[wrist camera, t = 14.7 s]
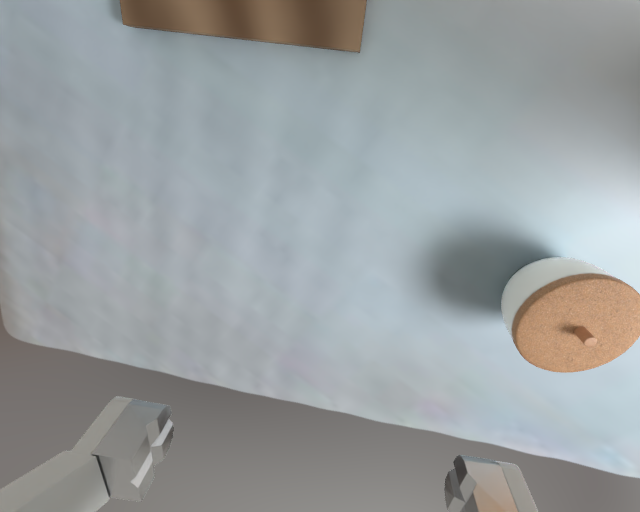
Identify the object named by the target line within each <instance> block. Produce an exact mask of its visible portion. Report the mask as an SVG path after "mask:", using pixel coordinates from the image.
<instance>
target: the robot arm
mask: <svg viewBox="0 0 640 512" xmlns="http://www.w3.org/2000/svg"><path fill="white" fill-rule="evenodd" d="M171 414H172V412H171V407H170V406H168V405H163V404H157V403H151V402H146V401H141V400H136V399H131V398H124V397H119V396H117V397H115V398H114V399H112V400H111V401H110V402H109V403H108V404H107V406H106V407H105V408H104V409H103V411H102V412H101V413H100V414H99V416H98V417H97V418H96V420H95V421H94V422H93V423H92V425H91V426H90V427H89V428H88V430H87V431H86V432H85V433H84V435H83V436H82V437H81V438H80V440H79V441H78V442H77V443H76V445H75V446H74V447H73V448H72V450H71V451H63V452H62V453H60V454H58V455H57V456H55V457H53V458H52V459H50V460H48V461H47V462H45V463H43V464H42V465H40V466H38V467H37V468H35V469H33V470H32V471H30V472H28V473H27V474H25V475H23V476H22V477H20V478H18V479H17V480H15V481H13V482H12V483H10V484H8V485H7V486H5V487H3V488H2V489H0V512H96V511H97V510H98V509H99V508H100V507H102V506H103V505H104V504H105V503H106V502H107V501H109V497H110V498H117V499H124V500H130V501H137V502H142V500H143V498H144V496H145V494H146V492H147V490H148V489H149V487H150V485H151V483H152V481H153V479H154V477H155V470H154V466H155V465H157V464H158V463H159V462H161V461H162V460H164V458H165V456H166V454H167V452H168V450H169V448H170V445H171V441H172V438H173V432H174V427H173V423H172V422H171V421H170V420H169V417H170V416H171ZM453 463H454V467H455V469H453V470H451V471H449V472H448V474H447V476H446V479H445V488H444V491H445V501H446V506H447V510H448V511H449V512H538V510H537V508H536V505H535V503H534V501H533V498H532V496H531V494H530V491H529V489H528V487H527V484H526V482H525V480H524V477H523V475H522V473H521V470H520V469H519V468H518V466H517V465H514V464H511V463H505V462H499V461H495V460H490V459H483V458H477V457H470V456H463V455H458V456H457V457H456V458H455V460H454V462H453Z"/></svg>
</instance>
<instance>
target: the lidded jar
mask: <svg viewBox="0 0 640 512" xmlns="http://www.w3.org/2000/svg"><path fill="white" fill-rule="evenodd" d="M501 311H502V315H503V319H504V323H505V325H506V328H507V330H508V332H509V333H510V335H511V337H512V339H513V342H514V344H515V346H516V348H517V349H518V351H519V353H520V354H521V355H522V356H523V358H524V359H526V360H527V361H528V362H529V363H531V364H533V365H535V366H536V367H539V368H542V369H545V370H549V371H553V372H578V371H584V370H588V369H592V368H595V367H598V366H601V365H603V364H605V363H608V362H610V361H612V360H613V359H615V358H617V357H618V356H620V355H621V354H623V353H624V352H625V351H626V350H627V349H629V348H630V347H631V346H632V345H633V344H634V342H635V341H636V340H637V339H638V337H639V336H640V294H639V293H638V292H637V291H636V290H635V289H633V288H632V287H631V286H629V285H628V284H626V283H625V282H623V281H621V280H620V279H617V278H616V277H614V276H613V275H611V274H610V273H608V272H606V271H605V270H603V269H601V268H599V267H597V266H595V265H593V264H590V263H587V262H585V261H582V260H578V259H573V258H565V257H554V258H546V259H541V260H538V261H535V262H532V263H530V264H528V265H526V266H524V267H522V268H521V269H519V270H518V271H517V272H516V273H515V274H514V275H513V276H512V277H511V279H510V280H509V281H508V283H507V285H506V286H505V289H504V291H503V294H502V300H501Z"/></svg>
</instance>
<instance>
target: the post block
mask: <svg viewBox="0 0 640 512" xmlns="http://www.w3.org/2000/svg"><path fill="white" fill-rule="evenodd" d="M366 2H367V0H120V6H121V13H122V20H123V25H127V26H130V27H135V28H144V29H153V30H162V31H171V32H180V33H188V34H197V35H206V36H215V37H224V38H233V39H242V40H251V41H260V42H269V43H278V44H287V45H296V46H305V47H313V48H322V49H331V50H340V51H349V52H358V53H360V47H361V39H362V32H363V25H364V17H365V10H366Z"/></svg>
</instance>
